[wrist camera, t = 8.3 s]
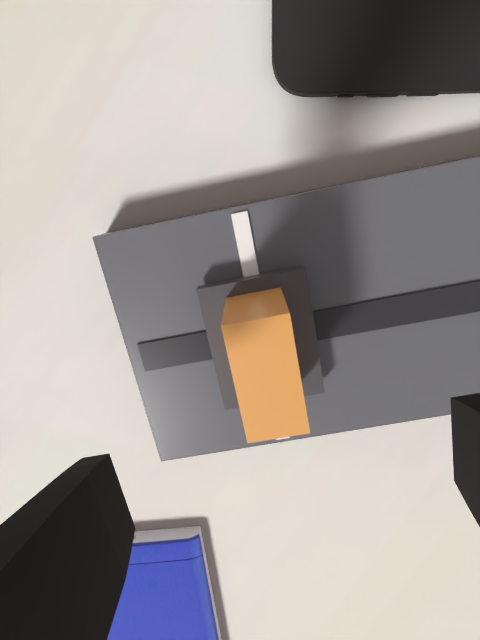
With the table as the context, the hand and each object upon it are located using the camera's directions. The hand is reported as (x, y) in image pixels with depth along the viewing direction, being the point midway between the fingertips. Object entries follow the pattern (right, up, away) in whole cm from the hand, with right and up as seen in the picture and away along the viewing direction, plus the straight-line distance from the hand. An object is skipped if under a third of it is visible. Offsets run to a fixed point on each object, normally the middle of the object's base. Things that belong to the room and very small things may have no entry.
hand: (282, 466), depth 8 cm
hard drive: (-6, -14, +15) cm, 21 cm away
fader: (0, +2, +7) cm, 8 cm away
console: (+4, +4, +9) cm, 10 cm away
